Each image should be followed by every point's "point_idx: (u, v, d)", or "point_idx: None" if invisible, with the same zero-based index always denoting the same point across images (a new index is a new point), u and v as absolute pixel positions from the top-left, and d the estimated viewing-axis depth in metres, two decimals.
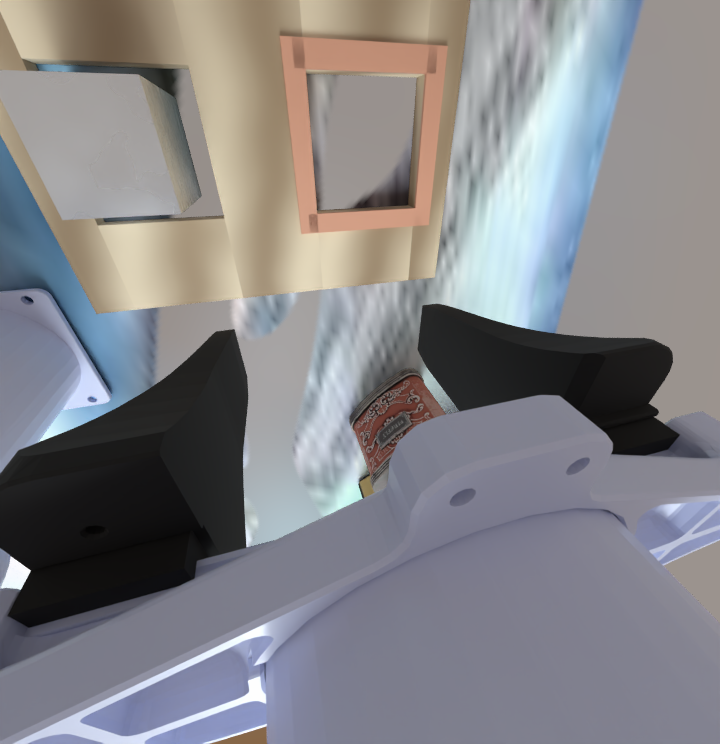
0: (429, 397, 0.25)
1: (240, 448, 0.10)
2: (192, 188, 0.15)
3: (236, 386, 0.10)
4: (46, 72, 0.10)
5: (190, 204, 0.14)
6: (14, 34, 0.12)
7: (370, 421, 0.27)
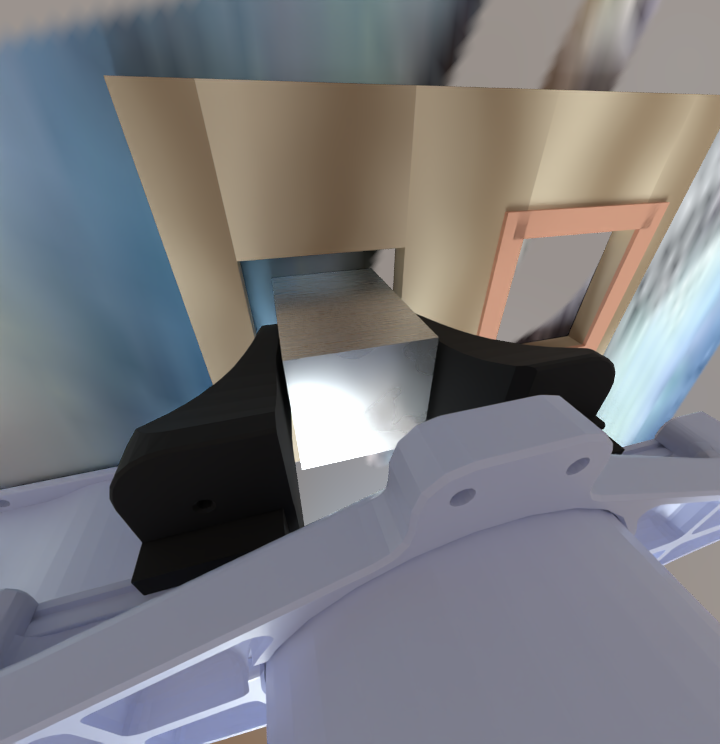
0: None
1: (291, 438, 0.10)
2: None
3: (285, 378, 0.10)
4: (344, 351, 0.08)
5: None
6: (236, 240, 0.10)
7: None
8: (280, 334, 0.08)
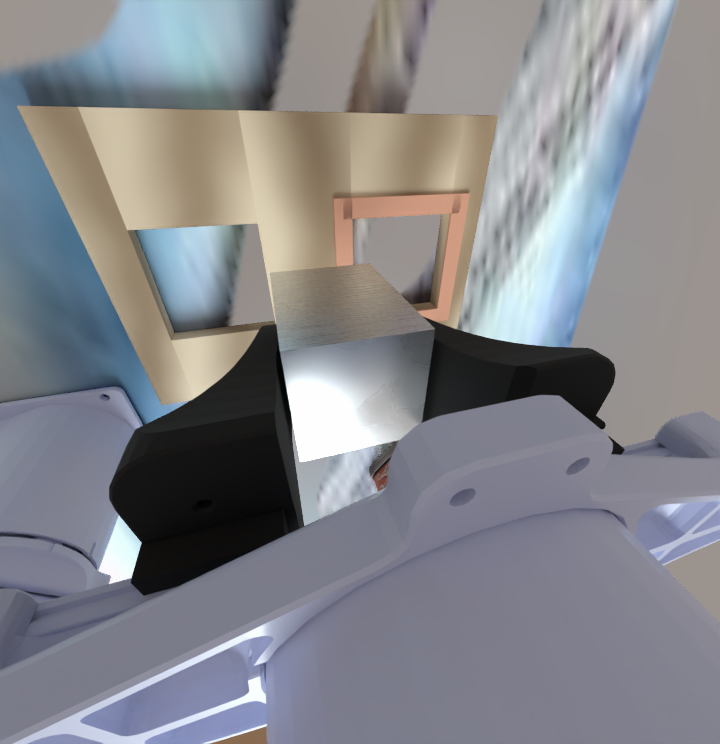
0: None
1: (291, 438, 0.10)
2: None
3: None
4: (341, 342, 0.08)
5: None
6: (124, 215, 0.15)
7: None
8: (278, 326, 0.08)
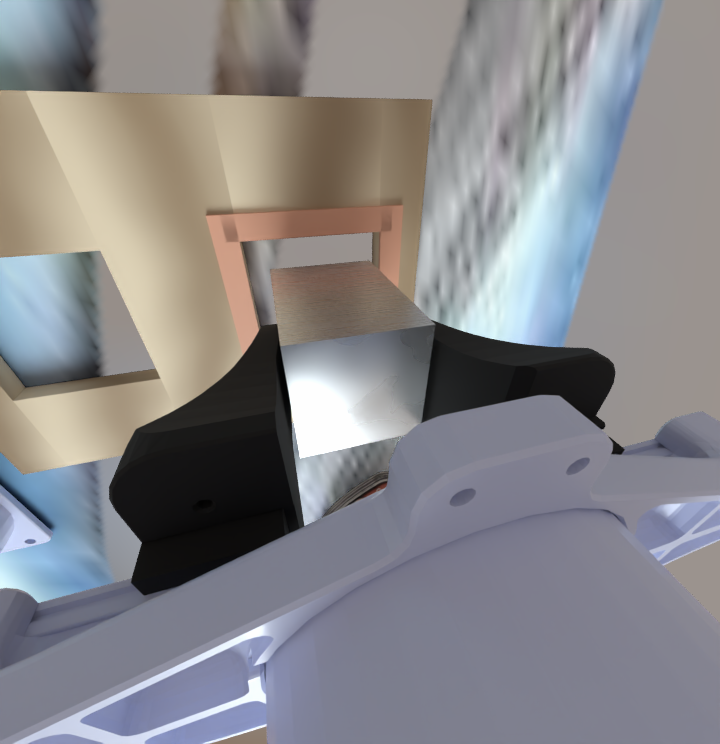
0: None
1: (291, 438, 0.10)
2: None
3: (285, 378, 0.10)
4: (341, 337, 0.08)
5: None
6: None
7: None
8: (278, 321, 0.08)
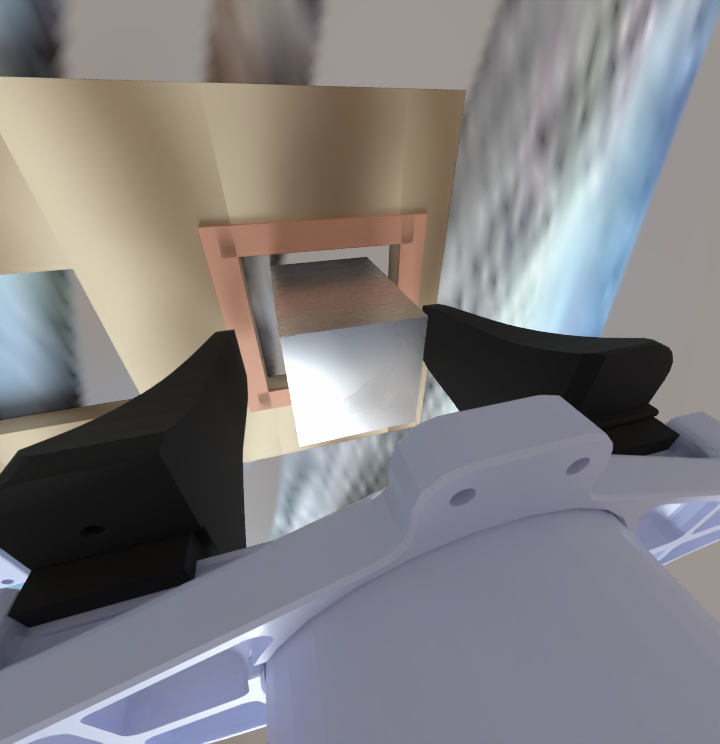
0: None
1: (240, 448, 0.10)
2: None
3: (236, 386, 0.10)
4: (337, 329, 0.08)
5: None
6: None
7: None
8: (278, 314, 0.09)
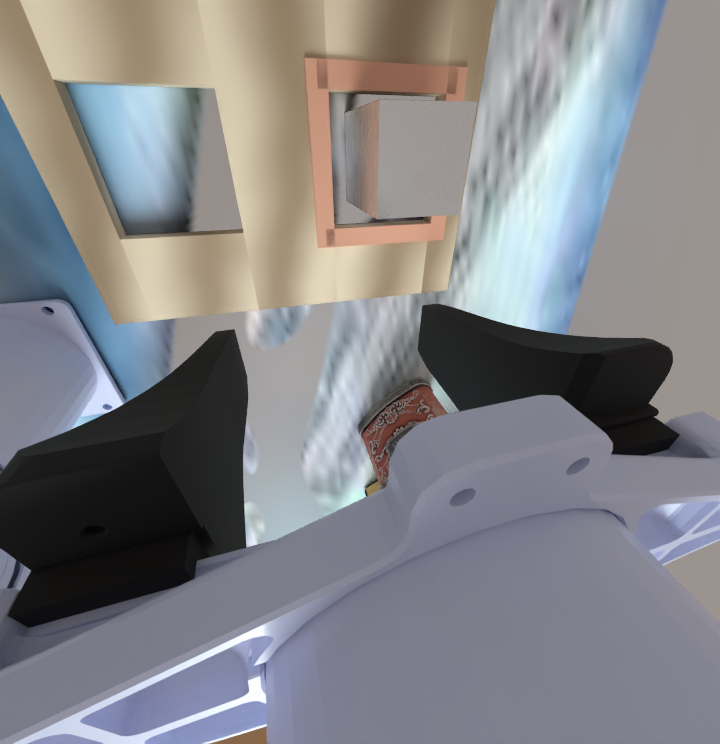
0: (439, 408, 0.25)
1: (240, 448, 0.10)
2: None
3: (236, 386, 0.10)
4: (417, 101, 0.12)
5: None
6: (47, 56, 0.12)
7: (379, 430, 0.27)
8: (370, 103, 0.13)
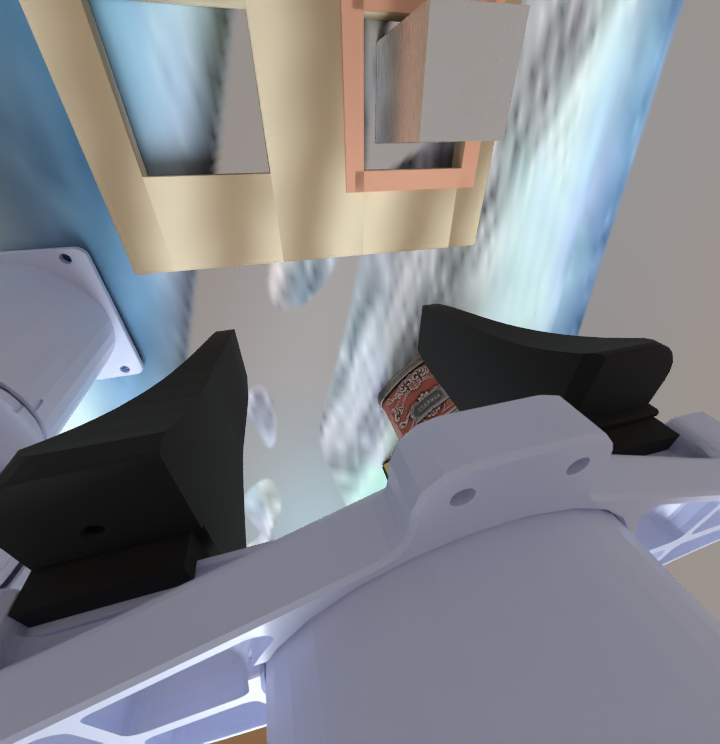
0: None
1: (240, 448, 0.10)
2: None
3: (236, 386, 0.10)
4: (468, 1, 0.11)
5: None
6: None
7: (402, 397, 0.26)
8: (415, 10, 0.12)
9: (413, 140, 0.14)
